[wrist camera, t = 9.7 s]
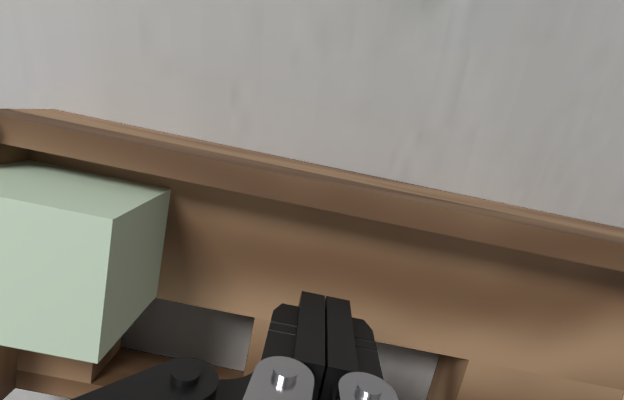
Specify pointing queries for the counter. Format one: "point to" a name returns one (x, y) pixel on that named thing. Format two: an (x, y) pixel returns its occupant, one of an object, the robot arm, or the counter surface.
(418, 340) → the box
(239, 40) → the counter surface
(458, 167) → the counter surface
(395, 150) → the counter surface
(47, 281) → the block
